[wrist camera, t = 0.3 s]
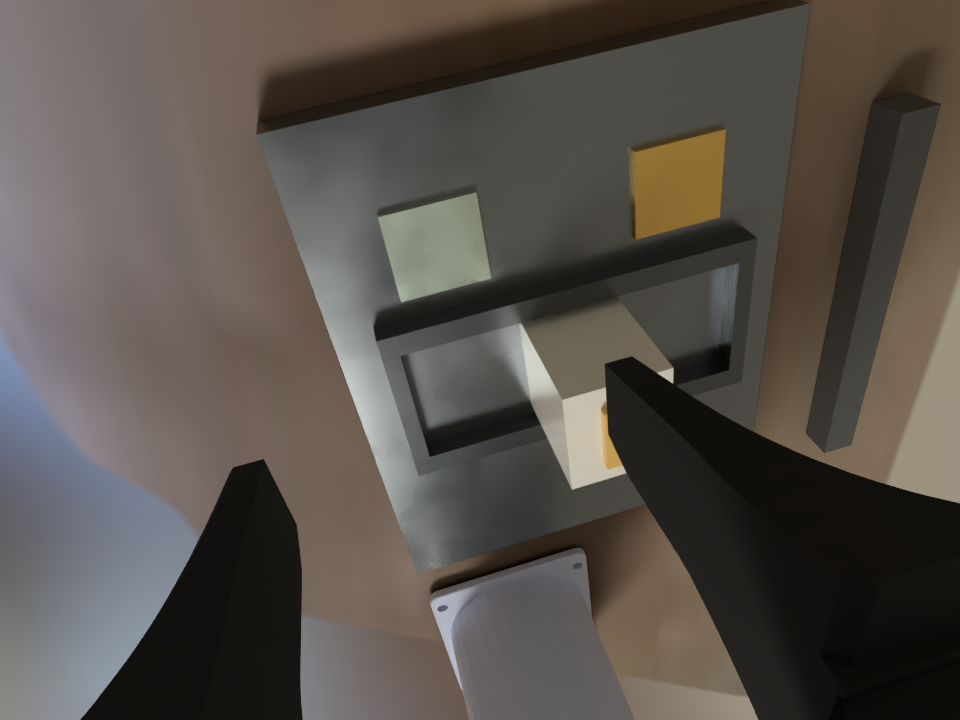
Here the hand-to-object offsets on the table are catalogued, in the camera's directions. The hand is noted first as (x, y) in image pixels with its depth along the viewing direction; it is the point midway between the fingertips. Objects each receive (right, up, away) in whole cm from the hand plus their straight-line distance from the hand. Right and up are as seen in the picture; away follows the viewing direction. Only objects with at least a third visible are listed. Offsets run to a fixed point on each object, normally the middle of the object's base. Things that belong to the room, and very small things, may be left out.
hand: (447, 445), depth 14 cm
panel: (+4, +3, +12) cm, 13 cm away
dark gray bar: (+16, +5, +14) cm, 22 cm away
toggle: (+4, +2, +11) cm, 12 cm away
